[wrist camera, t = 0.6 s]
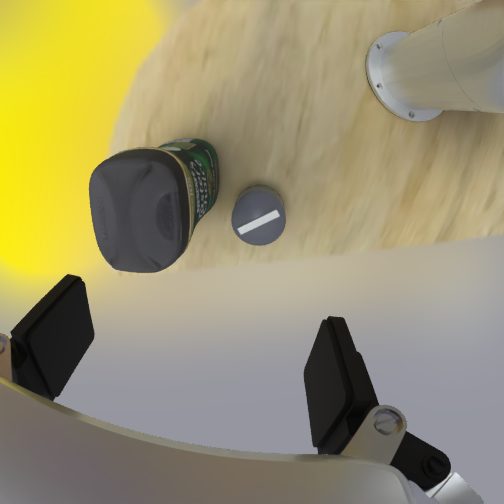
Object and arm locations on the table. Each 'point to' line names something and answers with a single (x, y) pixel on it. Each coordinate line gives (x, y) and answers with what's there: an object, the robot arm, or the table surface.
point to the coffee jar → (152, 202)
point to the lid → (258, 215)
